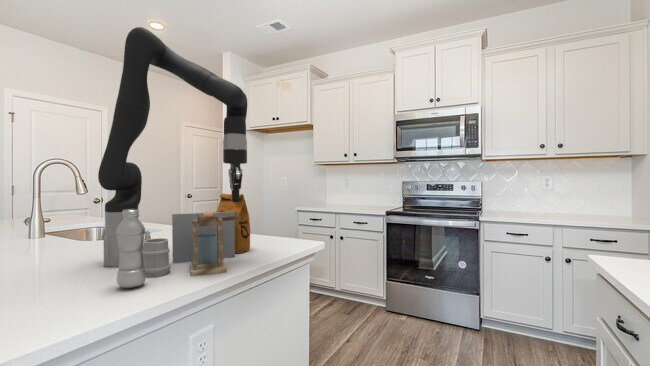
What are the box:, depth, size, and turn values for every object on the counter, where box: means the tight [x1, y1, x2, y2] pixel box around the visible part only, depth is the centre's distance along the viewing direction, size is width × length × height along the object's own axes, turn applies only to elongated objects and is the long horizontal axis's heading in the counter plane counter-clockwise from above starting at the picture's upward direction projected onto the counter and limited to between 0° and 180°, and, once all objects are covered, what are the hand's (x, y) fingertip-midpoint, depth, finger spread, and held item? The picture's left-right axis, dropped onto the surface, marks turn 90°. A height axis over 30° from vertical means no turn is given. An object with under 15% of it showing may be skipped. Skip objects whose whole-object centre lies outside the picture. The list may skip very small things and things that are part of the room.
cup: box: [190, 233, 217, 266], centre depth 106 cm, size 9×9×9 cm
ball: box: [203, 210, 214, 217], centre depth 93 cm, size 3×3×3 cm
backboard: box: [171, 211, 236, 264], centre depth 110 cm, size 20×1×16 cm, turn 114°
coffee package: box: [216, 193, 251, 254], centre depth 123 cm, size 10×12×22 cm
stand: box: [189, 218, 227, 277], centre depth 97 cm, size 10×7×16 cm
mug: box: [143, 230, 172, 278], centre depth 95 cm, size 8×12×12 cm, turn 51°
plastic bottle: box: [116, 208, 147, 289], centre depth 83 cm, size 6×7×20 cm
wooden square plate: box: [198, 212, 241, 226], centre depth 99 cm, size 13×13×3 cm
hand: (235, 201), depth 105 cm, fingers closed
